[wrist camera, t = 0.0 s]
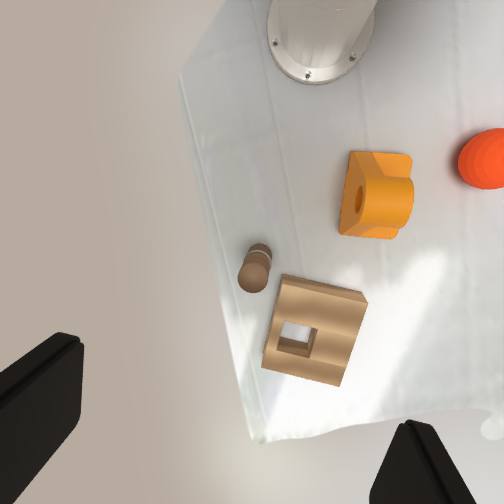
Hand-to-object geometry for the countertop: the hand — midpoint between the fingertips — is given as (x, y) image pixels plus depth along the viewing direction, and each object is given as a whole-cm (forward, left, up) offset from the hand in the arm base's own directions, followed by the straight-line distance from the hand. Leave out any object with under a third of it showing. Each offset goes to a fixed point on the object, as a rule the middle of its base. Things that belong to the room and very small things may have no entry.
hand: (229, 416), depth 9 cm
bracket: (-6, +12, -37) cm, 39 cm away
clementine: (-13, +24, -37) cm, 46 cm away
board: (+15, +9, -37) cm, 41 cm away
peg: (+6, -1, -37) cm, 37 cm away
